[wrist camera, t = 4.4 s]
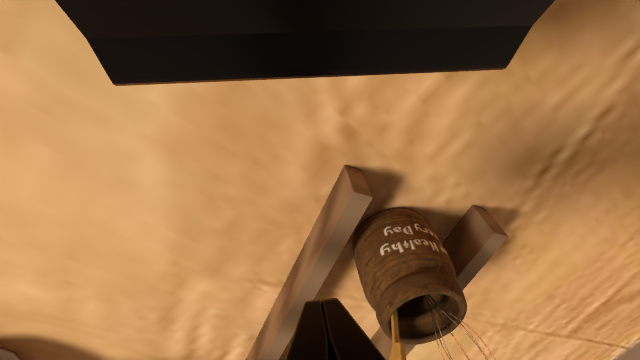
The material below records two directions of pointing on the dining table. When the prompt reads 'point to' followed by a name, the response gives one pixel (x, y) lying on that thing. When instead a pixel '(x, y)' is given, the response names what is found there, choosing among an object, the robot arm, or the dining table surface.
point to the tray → (329, 240)
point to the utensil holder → (408, 280)
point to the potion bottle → (8, 355)
